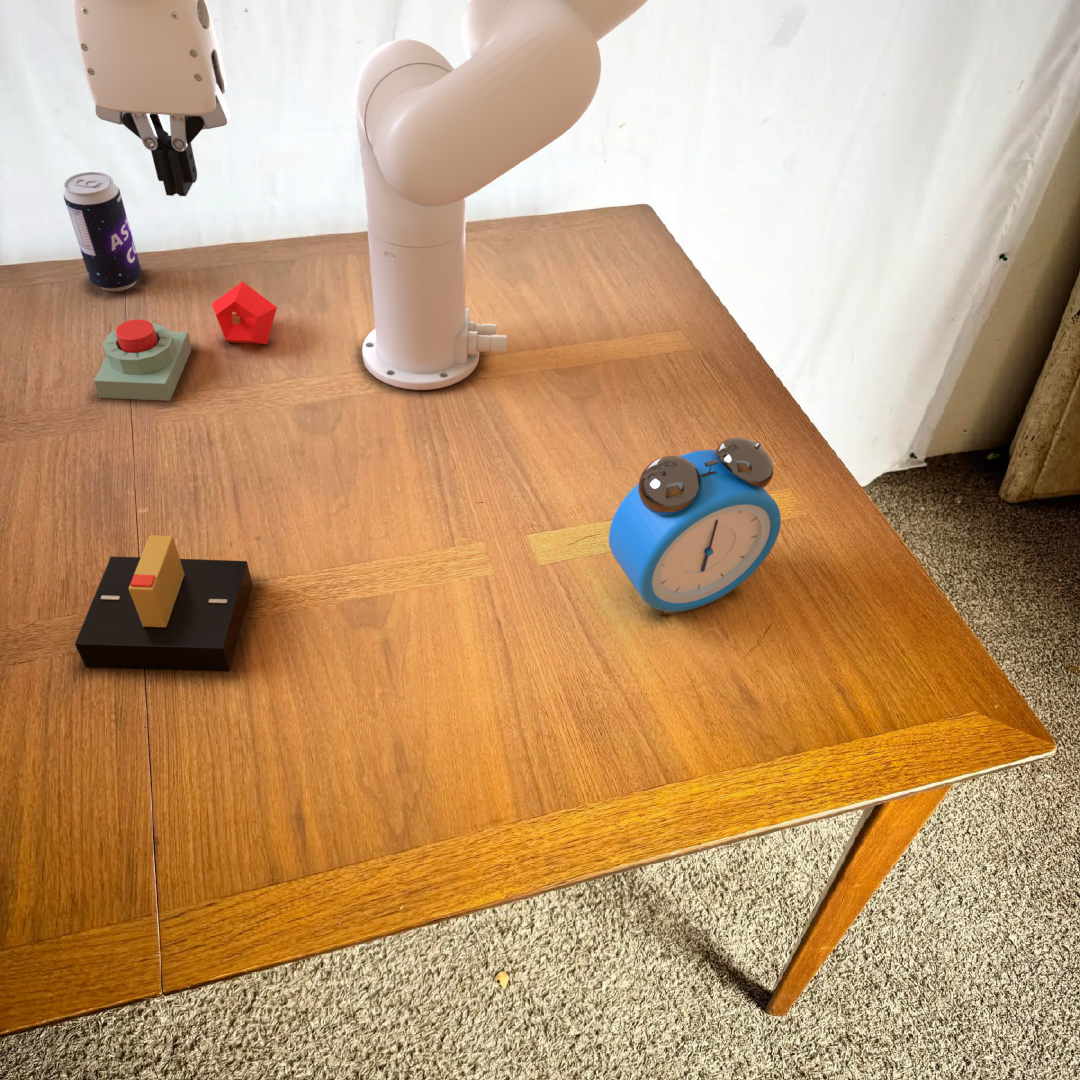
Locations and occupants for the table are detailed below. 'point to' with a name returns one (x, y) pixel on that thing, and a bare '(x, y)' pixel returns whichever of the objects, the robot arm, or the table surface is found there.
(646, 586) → the alarm clock
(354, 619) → the table surface
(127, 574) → the plate
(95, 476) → the table surface
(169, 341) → the block
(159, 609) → the lock knob
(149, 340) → the bell button
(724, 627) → the table surface
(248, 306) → the apple
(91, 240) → the beverage can
